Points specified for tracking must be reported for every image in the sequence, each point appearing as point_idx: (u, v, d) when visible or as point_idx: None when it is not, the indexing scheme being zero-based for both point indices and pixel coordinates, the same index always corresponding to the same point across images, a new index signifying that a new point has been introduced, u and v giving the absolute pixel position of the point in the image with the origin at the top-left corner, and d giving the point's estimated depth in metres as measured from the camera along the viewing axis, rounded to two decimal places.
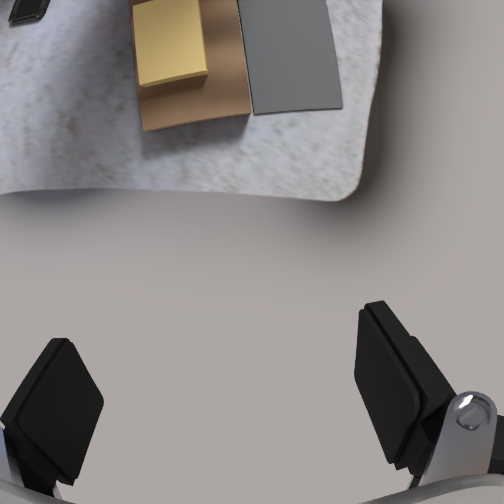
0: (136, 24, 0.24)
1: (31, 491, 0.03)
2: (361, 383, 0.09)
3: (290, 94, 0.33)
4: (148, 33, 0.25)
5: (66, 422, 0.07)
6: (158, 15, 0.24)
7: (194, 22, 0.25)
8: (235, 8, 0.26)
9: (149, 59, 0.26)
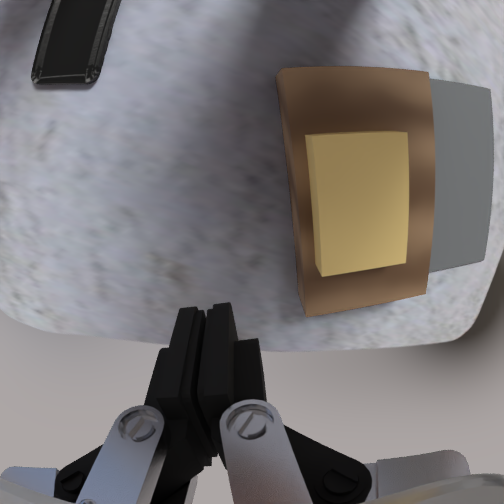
0: (320, 176, 0.19)
1: (31, 491, 0.03)
2: None
3: (448, 252, 0.29)
4: (339, 198, 0.20)
5: None
6: (355, 167, 0.19)
7: (402, 190, 0.20)
8: (433, 157, 0.21)
9: (339, 241, 0.21)
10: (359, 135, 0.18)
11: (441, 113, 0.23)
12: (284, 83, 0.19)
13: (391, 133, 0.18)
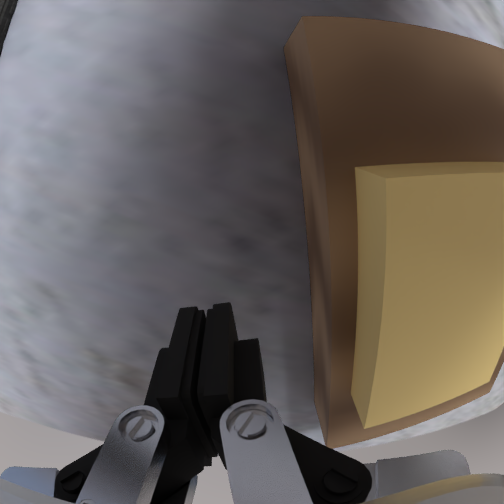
0: (394, 273, 0.08)
1: (31, 491, 0.03)
2: None
3: None
4: (423, 312, 0.09)
5: None
6: (461, 248, 0.08)
7: None
8: None
9: (404, 381, 0.10)
10: (476, 178, 0.07)
11: None
12: (308, 48, 0.08)
13: None
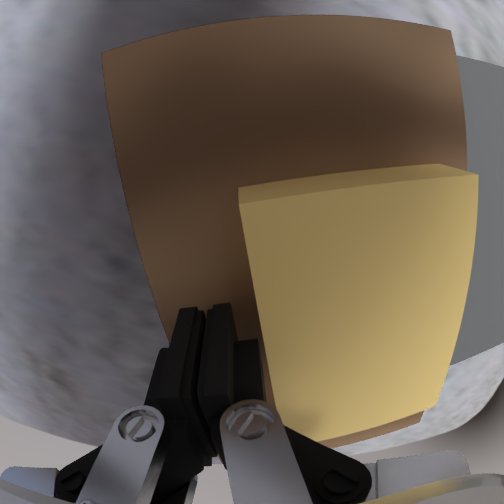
0: (267, 301, 0.08)
1: (31, 491, 0.03)
2: None
3: (462, 342, 0.17)
4: (317, 340, 0.09)
5: None
6: (357, 272, 0.08)
7: (454, 301, 0.09)
8: None
9: (315, 406, 0.10)
10: (371, 191, 0.07)
11: (469, 118, 0.12)
12: (106, 84, 0.08)
13: (447, 179, 0.07)
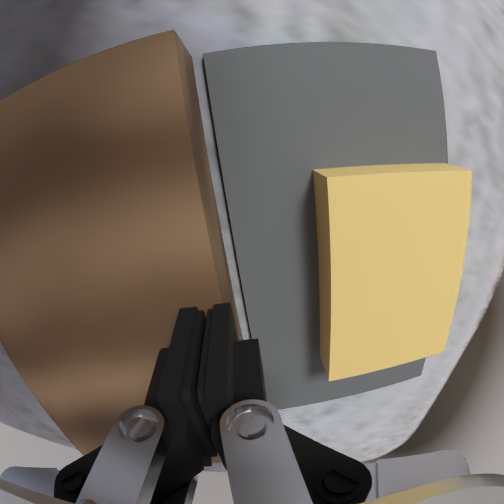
0: None
1: (31, 491, 0.03)
2: None
3: None
4: None
5: None
6: None
7: None
8: (207, 252, 0.10)
9: None
10: (391, 168, 0.13)
11: (292, 119, 0.12)
12: None
13: (341, 168, 0.13)
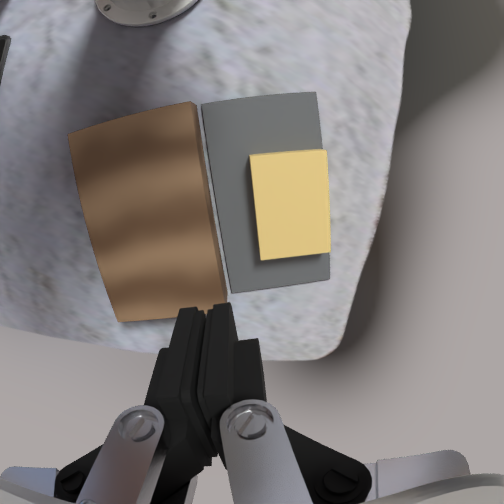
0: None
1: (31, 491, 0.03)
2: None
3: (271, 271, 0.33)
4: None
5: None
6: None
7: None
8: (201, 183, 0.26)
9: None
10: (288, 152, 0.29)
11: (239, 132, 0.28)
12: (70, 145, 0.24)
13: (262, 154, 0.29)
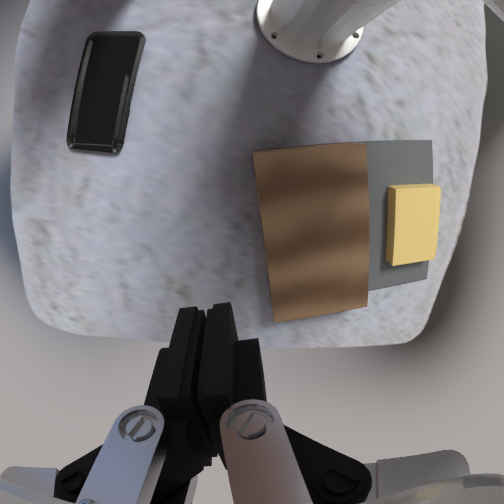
0: None
1: (31, 491, 0.03)
2: None
3: (391, 273, 0.40)
4: None
5: None
6: None
7: None
8: (367, 208, 0.33)
9: None
10: (412, 185, 0.36)
11: (382, 168, 0.35)
12: (255, 165, 0.31)
13: (396, 185, 0.35)
